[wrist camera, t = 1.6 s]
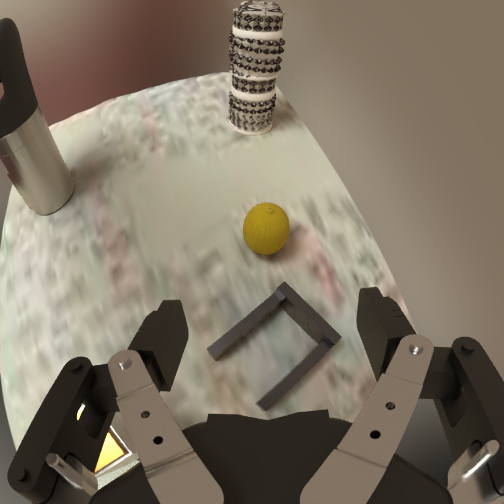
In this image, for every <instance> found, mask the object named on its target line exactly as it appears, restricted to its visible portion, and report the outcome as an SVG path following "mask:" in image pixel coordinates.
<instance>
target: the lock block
mask: <svg viewBox="0 0 504 504" xmlns="http://www.w3.org/2000/svg"><path fill="white" fill-rule="evenodd" d="M84 406H85V405H84ZM84 406H83V407H82V408H80V409H79V411H78V415H77V418H78V419H79V417H80V414H81V412H82V410H83V408H84ZM138 459H139V456H138V454H137V452H136V449H135V447H134V445H133V442H132V440H131V438H130V435H129V433H128V430H127V428H126V425H125V423H124V420H123V418H122V415H121V412H116V413H115V415H114V418H113V421H112V423H111V426H110V429H109V432H108V434H107V437H106V440H105V443H104V446H103V449H102V452H101V454H100V457H99V460H98V463H97V466H96V469H95V473H94V475H95V477H96V478H98V477H100V476H103V475H105V474H107V473H110V472H112V471H114V470H117V469H119V468H121V467H123V466H126V465H128V464H130V463H132V462H134V461H136V460H138Z"/></svg>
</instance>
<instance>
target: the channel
mask: <svg viewBox="0 0 504 504" xmlns="http://www.w3.org/2000/svg"><path fill="white" fill-rule="evenodd" d="M279 307H281V308H282V309H283V310H284V311H285V312H286V313H287V314H288V315H289V316H290V317H291V318H292V319H293V320H294V321H295V322H296V323H297V324H298V325H299V326H300V327H301V328H302V329H303V330H304V331H305V332H306V333H307V334H308V335H309V336H310V337H311V338H312V339H313V340H314V341H316V342H317V343H318V345H317V346H316V347H315V348H314V349H313V350H312V351H311V352H310V353H309V354H308V355H307V356H306V357H305V358H304V359H303V360H302V361H301V362H300V363H299V364H298V365H297V366H296V367H295V368H294V369H293V370H292V371H290V372H289V373H288V374H287V375H286V376H285V377H284V378H283V379H282V380H281V381H280V382H279V383H278V384H276V385H275V386H274V387H273V388H272V389H271V390H270V391H269V392H268V393H266V394H265V395H264V396H263V397H262V398H261V399H260V400H259V401H257V402H256V404H257V405H258V406H259V407H260V408H261V409H262V410H263V411H266V410H267V409H268V408H269V407H271V406H272V405H273V404H274V403H275V402H276V401H277V400H278V399H279V398H280V397H282V396H283V395H284V394H285V393H286V392H287V391H288V390H289V389H290V388H291V387H292V386H293V385H294V384H295V383H296V382H298V381H299V380H300V379H301V378H302V377H303V376H304V375H305V374H306V373H307V372H308V371H309V370H310V369H311V368H312V367H313V366H314V365H315V364H316V363H317V362H318V361H319V360H320V359H321V358H322V357H323V355H324V354H325V353H326V352H327V351H328V350H329V349H330V348H331V347H332V346H334V345H335V344H336V343H337V342H338V341H339V340H340V338H341V336H340V335H339V334H338V333H337V332H336V331H335V330H334V329H333V328H332V327H331V326H330V325H329V324H328V323H327V322H326V321H325V320H324V319H323V318H322V317H321V316H320V315H319V314H318V313H317V312H316V311H315V310H314V309H313V308H312V307H311V306H309V305H308V304H307V303H306V302H305V301H304V300H303V299H302V298H301V297H300V296H299V295H298V294H297V293H296V292H295V291H294V290H293V289H292V288H291V287H290V286H289V285H288V284H287V283H286V282H285V281H284V282H283V283H282V284H281V285H280V286H279V287H277V289H276V292H275V293H273V294H272V295H271V296H270V297H269V298H268V299H266V300H265V301H264V302H263V303H262V304H260V305H259V306H258V307H257V308H256V309H255V310H253V311H252V312H251V313H250V314H249V315H247V316H246V317H245V318H244V319H243V320H241V321H240V322H239V323H238V324H237V325H235V326H234V327H233V328H232V329H231V330H229V331H228V332H227V333H226V334H224V335H223V336H222V337H221V338H220V339H218V340H217V341H216V342H215V343H213V344H212V345H211V346H210V347H208V348H207V350H208V352H209V354H210V355H211V356H212V357H213V358H214V359H215V361H216V360H217V359H219V358H220V357H221V356H222V355H224V354H225V353H226V352H227V351H228V350H230V349H231V348H232V347H233V346H234V345H236V344H237V343H238V342H239V341H240V340H242V339H243V338H244V337H245V336H246V335H248V334H249V333H250V332H251V331H252V330H253V329H255V328H256V327H257V326H258V325H259V324H260V323H262V322H263V321H264V320H265V319H266V318H267V317H268V316H270V315H271V314H272V313H273V312H274V311H275V310H276V309H277V308H279Z"/></svg>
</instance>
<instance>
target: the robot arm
mask: <svg viewBox="0 0 504 504" xmlns="http://www.w3.org/2000/svg"><path fill="white" fill-rule="evenodd" d="M1 82H2V84H3V88H4V95H3V96H2V98H1V100H0V159H1V161H2V163H3V164H4V166H5V168H6V169H7V172H6V173H7V175H8V177H9V179H10V180H11V182H12V183H13V185H14V186H15V188H16V189H17V191H18V192H19V194H20V195H21V196H22V198H23V199H24V201H25V202H26V203H27V205H28V206H29V208H33V210H34V211H35V212H36V213H37V214H39V215H47V214H50V213H53V212H55V211H56V210H58V209H59V208H61V207H62V206H63V205H64V204H65V203H66V202H67V201H68V199H69V198H70V196H71V195H72V193H73V190H74V181H73V178H72V177H71V175H70V173H69V171H68V169H67V167H66V164H65V162H64V160H63V158H62V156H61V154H60V152H59V150H58V148H57V146H56V143H55V141H54V139H53V137H52V135H51V132H50V130H49V128H48V126H47V123H46V121H45V119H44V116H43V114H42V111H41V109H40V106H39V104H38V101H37V99H36V96H35V93H34V89H33V86H32V82H31V79H30V76H29V73H28V69H27V66H26V62H25V58H24V53H23V49H22V44H21V39H20V35H19V32H18V29H17V27H16V25H15V23H14V22H13V21H12V20H11V19H9V18H4V19H1V20H0V83H1ZM357 329H358V332H359V335H360V337H361V340H362V342H363V345H364V348H365V350H366V353H367V356H368V358H369V361H370V364H371V367H372V369H373V372H374V375H375V378H376V381H377V384H376V386H375V387H374V389H373V391H372V393H371V395H370V396H369V398H368V400H367V401H366V403H365V405H364V407H363V408H362V410H361V411H360V413H359V415H358V416H357V418H356V420H355V421H354V423H350V422H348V421H345V420H342V419H337V418H330V417H329V413H328V409H327V410H318V411H308V412H298V413H294V414H290V415H287V416H283V417H279V418H275V419H271V420H263V419H257V418H252V417H247V416H242V415H237V414H208V418H207V422H203V423H199V424H196V425H193V426H190V427H188V428H186V429H184V430H182V431H181V430H180V428H179V426H178V425H177V423H176V421H175V420H174V418H173V416H172V415H171V413H170V411H169V409H168V408H167V406H166V404H165V402H164V401H163V399H162V397H161V395H160V391H168V392H170V390H171V387H172V384H173V381H174V378H175V375H176V373H177V370H178V367H179V364H180V361H181V358H182V355H183V352H184V349H185V347H186V344H187V341H188V326H187V322H186V318H185V314H184V311H183V307H182V303H181V301H180V300H163V301H162V303H161V305H160V307H159V308H158V310H157V311H153V312H151V313H150V314H149V315H148V316H147V317H146V318H145V319H144V321H143V323H142V326H140V328H139V330H138V332H137V333H136V335H135V337H134V338H133V340H132V342H131V344H130V345H129V347H128V349H127V350H123V351H120V352H118V353H116V354H114V355H113V356H112V357H111V358H110V360H109V362H108V364H102V365H95V366H93V365H92V363H91V362H90V360H89V359H88V358H86V357H76V358H73V359H71V360H70V361H68V362H67V363H66V364H65V366H64V367H63V369H62V370H61V372H60V374H59V375H58V377H57V379H56V380H55V382H54V384H53V385H52V387H51V389H50V390H49V392H48V394H47V396H46V397H45V399H44V401H43V402H42V404H41V406H40V408H39V410H38V411H37V413H36V415H35V417H34V419H33V421H32V422H31V424H30V426H29V428H28V430H27V432H26V434H25V436H24V438H23V440H22V442H21V444H20V446H19V448H18V450H17V452H16V454H15V456H14V459H13V461H12V463H11V465H10V468H9V470H8V482H9V484H10V486H11V487H12V488H13V489H14V490H15V491H17V492H18V493H19V494H21V495H22V496H23V497H25V498H26V499H27V500H28V501H29V502H31V503H33V504H500V503H502V502H503V501H504V382H503V380H502V378H501V376H500V375H499V373H498V371H497V370H496V368H495V366H494V365H493V363H492V362H491V360H490V359H489V357H488V355H487V354H486V352H485V351H484V349H483V348H482V346H481V345H480V343H479V342H477V341H476V340H475V339H472V338H470V337H460V338H457V339H456V340H455V341H454V342H453V344H452V347H451V348H449V347H434V346H433V344H432V342H431V341H430V340H429V339H428V338H426V337H424V336H421V335H417V334H416V332H415V331H414V329H413V328H412V326H411V324H410V323H409V321H408V320H407V318H406V316H405V315H404V313H403V312H402V311H401V308H400V307H399V305H398V304H397V302H395V301H394V300H393V299H391V298H390V297H383V296H382V294H381V292H380V291H379V289H378V288H377V287H370V288H361V289H360V292H359V300H358V310H357ZM418 398H421V399H433V400H434V403H435V406H436V408H437V411H438V414H439V417H440V419H441V422H442V425H443V428H444V431H445V434H446V437H447V440H448V443H449V446H450V449H451V453H452V456H453V459H454V463H453V465H452V466H451V468H450V470H449V473H448V487H447V488H446V487H445V486H444V485H443V484H442V483H440V482H439V481H437V480H436V479H434V478H432V477H431V476H429V475H428V474H426V473H425V472H423V471H421V470H420V469H418V468H417V467H415V466H414V465H412V464H411V463H409V462H408V461H406V460H405V459H403V458H402V457H400V456H399V455H398V454H396V453H395V450H396V449H397V447H398V444H399V443H400V440H401V438H402V436H403V434H404V432H405V430H406V427H407V425H408V423H409V420H410V418H411V416H412V413H413V411H414V408H415V406H416V403H417V400H418ZM82 403H83V404H84V405H85V406H84V408H83V410H82V412H81V414H80V417H79V419H78V418H77V415H78V411H79V409H80V407H81V405H82ZM116 412H121V415H122V418H123V420H124V423H125V425H126V428H127V430H128V433H129V435H130V438H131V440H132V442H133V445H134V447H135V449H136V452H137V454H138V456H139V458H140V460H141V461H140V462H139V463H138V464H136V465H135V466H133V467H132V468H131V469H129V470H128V471H126V472H125V473H123V474H122V475H120V476H119V477H117V478H116V479H114V480H113V481H111V482H110V483H108V484H107V485H105V486H104V487H102V488H101V489H99V490H98V489H97V488H98V482H97V479H96V477H95V475H94V473H95V469H96V466H97V463H98V460H99V457H100V454H101V452H102V449H103V446H104V443H105V440H106V437H107V434H108V432H109V429H110V426H111V423H112V421H113V418H114V415H115V413H116Z"/></svg>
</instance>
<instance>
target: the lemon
mask: <svg viewBox="0 0 504 504" xmlns="http://www.w3.org/2000/svg"><path fill="white" fill-rule="evenodd" d="M243 234H244V239H245V241H246V243H247V245H248V246H249V247H250V249H252V250H253V251H254V252H256V253H259V254H263V255H267V254H272V253H275V252H277V251H278V250H280V249H281V248H282V247H283V246H284V244H285V242H286V241H287V239H288V235H289V220H288V217H287V215H286V213H285V212H284V210H283V209H282V208H281V207H279V206H278V205H276V204H273V203H261V204H258V205H256V206H255V207H253V208H252V209H251V210H250V211H249V213H248V214H247V216H246V219H245V221H244V226H243Z"/></svg>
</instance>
